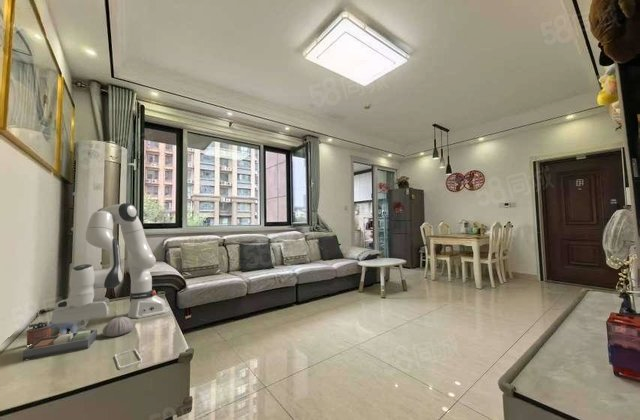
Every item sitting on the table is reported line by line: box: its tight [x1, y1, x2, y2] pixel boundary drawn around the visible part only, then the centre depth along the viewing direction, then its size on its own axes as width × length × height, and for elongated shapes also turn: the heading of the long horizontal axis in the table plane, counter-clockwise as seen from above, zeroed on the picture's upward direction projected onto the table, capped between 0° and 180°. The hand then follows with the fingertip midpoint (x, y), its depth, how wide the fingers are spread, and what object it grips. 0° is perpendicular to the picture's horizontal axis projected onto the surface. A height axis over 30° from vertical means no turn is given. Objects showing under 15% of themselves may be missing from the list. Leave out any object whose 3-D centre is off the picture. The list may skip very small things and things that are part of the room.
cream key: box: [54, 333, 73, 345], centre depth 121 cm, size 4×7×2 cm, turn 27°
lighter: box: [26, 321, 52, 345], centre depth 127 cm, size 8×3×10 cm, turn 141°
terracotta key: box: [33, 338, 55, 348], centre depth 118 cm, size 4×7×2 cm, turn 27°
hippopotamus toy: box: [47, 320, 82, 335], centre depth 141 cm, size 11×15×10 cm
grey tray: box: [22, 328, 98, 361], centre depth 121 cm, size 21×14×4 cm, turn 117°
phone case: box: [114, 348, 143, 370], centre depth 108 cm, size 7×1×15 cm
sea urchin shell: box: [102, 316, 136, 338], centre depth 137 cm, size 13×14×8 cm
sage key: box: [73, 329, 92, 341], centre depth 124 cm, size 4×7×2 cm, turn 27°
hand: (81, 329), depth 124 cm, fingers closed
